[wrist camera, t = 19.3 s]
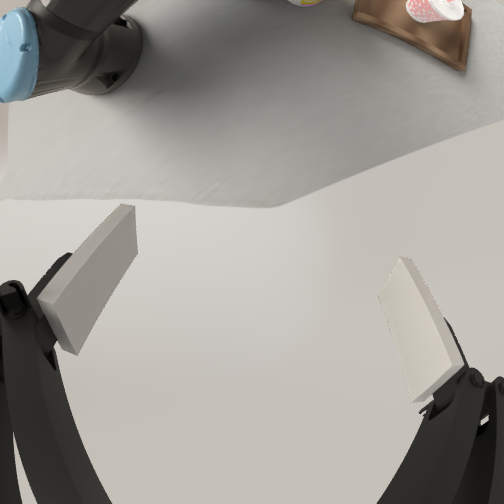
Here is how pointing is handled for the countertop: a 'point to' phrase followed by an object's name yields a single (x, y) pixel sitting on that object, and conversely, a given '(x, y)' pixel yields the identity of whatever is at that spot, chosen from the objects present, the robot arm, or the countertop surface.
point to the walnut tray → (419, 29)
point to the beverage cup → (435, 10)
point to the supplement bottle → (305, 2)
